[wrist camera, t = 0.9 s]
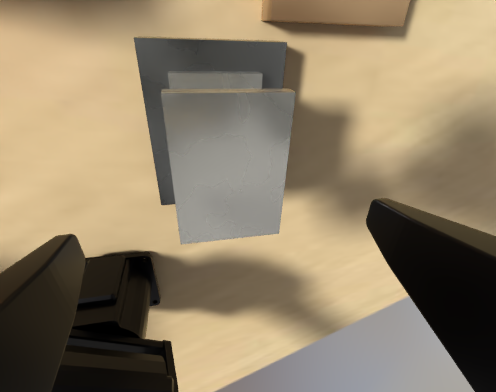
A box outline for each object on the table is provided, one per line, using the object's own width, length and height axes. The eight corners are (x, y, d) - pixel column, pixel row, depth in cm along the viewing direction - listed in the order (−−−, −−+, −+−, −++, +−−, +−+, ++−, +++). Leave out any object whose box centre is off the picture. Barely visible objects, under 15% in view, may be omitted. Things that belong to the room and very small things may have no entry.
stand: (265, 183, 22) (272, 196, 20) (163, 190, 20) (161, 205, 18) (276, 41, 16) (286, 42, 15) (139, 36, 15) (133, 37, 13)
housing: (253, 179, 19) (278, 233, 14) (181, 184, 18) (180, 244, 13) (259, 71, 15) (295, 92, 10) (168, 71, 14) (160, 93, 9)
